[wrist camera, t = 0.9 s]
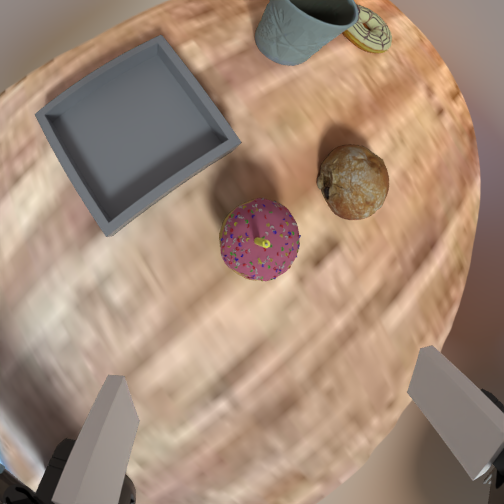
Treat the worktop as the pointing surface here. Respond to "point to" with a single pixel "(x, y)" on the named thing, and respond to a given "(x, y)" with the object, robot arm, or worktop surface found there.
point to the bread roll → (353, 182)
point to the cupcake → (259, 239)
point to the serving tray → (134, 132)
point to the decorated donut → (369, 32)
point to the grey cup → (302, 27)
